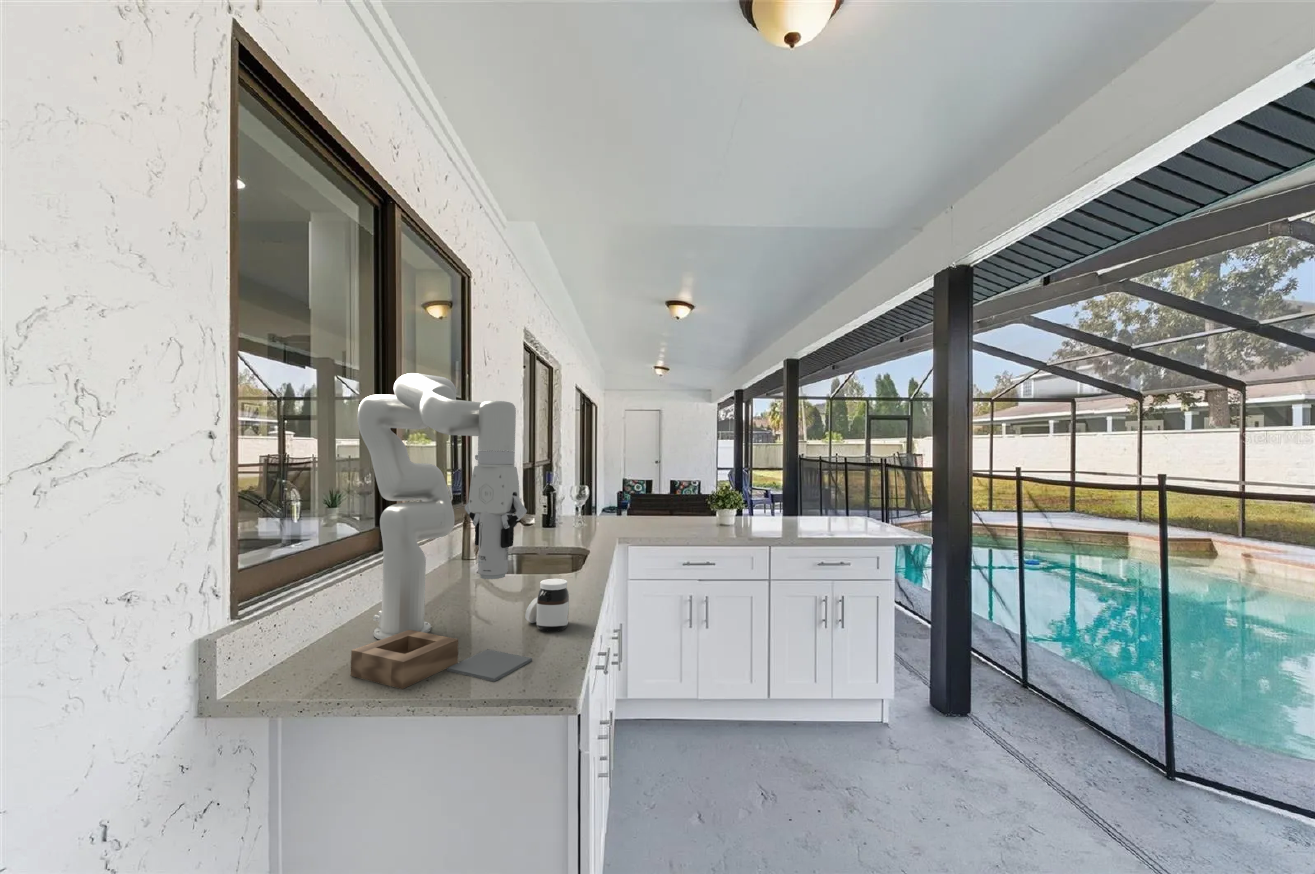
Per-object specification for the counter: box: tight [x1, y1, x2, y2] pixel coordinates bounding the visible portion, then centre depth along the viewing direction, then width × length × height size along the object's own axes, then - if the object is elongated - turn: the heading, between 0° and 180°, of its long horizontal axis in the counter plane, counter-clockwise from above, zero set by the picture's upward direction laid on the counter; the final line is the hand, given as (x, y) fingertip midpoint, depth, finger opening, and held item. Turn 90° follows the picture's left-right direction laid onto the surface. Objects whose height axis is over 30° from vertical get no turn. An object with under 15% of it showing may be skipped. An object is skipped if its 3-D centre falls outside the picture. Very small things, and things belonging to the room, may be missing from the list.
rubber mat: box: [446, 648, 533, 682], centre depth 113 cm, size 12×12×1 cm
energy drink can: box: [477, 512, 510, 580], centre depth 114 cm, size 6×6×15 cm
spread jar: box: [524, 578, 570, 633], centre depth 140 cm, size 12×11×12 cm
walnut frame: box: [350, 630, 459, 690], centre depth 111 cm, size 14×14×5 cm
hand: (494, 544), depth 114 cm, fingers closed on energy drink can, 6 cm apart
